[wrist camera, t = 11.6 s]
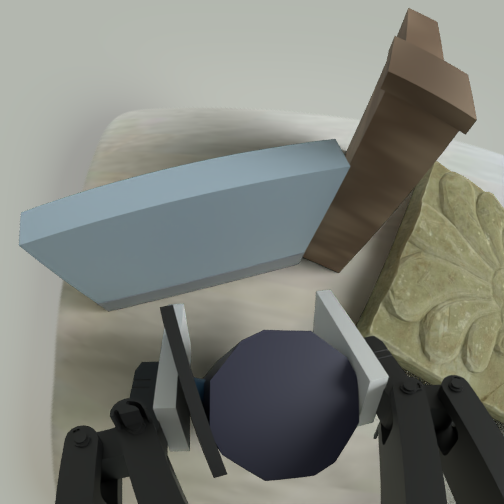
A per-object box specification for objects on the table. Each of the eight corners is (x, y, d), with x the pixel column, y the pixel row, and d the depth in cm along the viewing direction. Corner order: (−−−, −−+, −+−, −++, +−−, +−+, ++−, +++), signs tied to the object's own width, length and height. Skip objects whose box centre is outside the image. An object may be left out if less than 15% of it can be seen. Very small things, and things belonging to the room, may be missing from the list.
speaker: (165, 442, 16) (133, 490, 7) (171, 349, 18) (146, 300, 9) (292, 447, 17) (382, 483, 8) (294, 358, 19) (381, 318, 10)
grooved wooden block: (373, 162, 27) (451, 18, 12) (340, 276, 22) (476, 120, 8) (339, 147, 27) (401, -7, 13) (297, 257, 23) (388, 71, 8)
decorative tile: (509, 431, 18) (535, 431, 15) (346, 341, 21) (365, 333, 18) (543, 269, 25) (563, 257, 22) (418, 168, 28) (434, 146, 25)
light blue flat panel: (290, 243, 23) (334, 137, 13) (298, 264, 22) (351, 167, 12) (105, 289, 21) (21, 211, 10) (108, 311, 20) (19, 246, 10)
